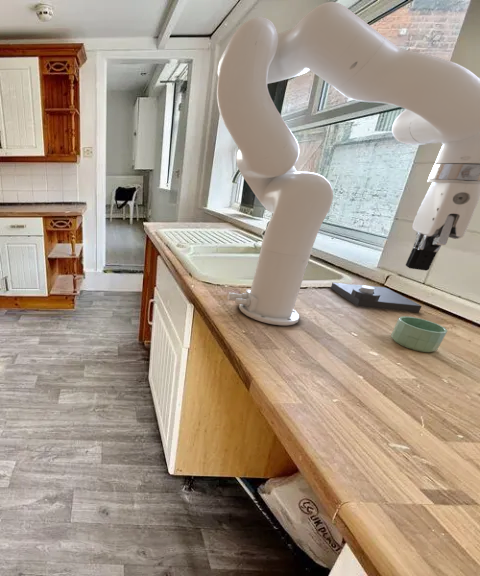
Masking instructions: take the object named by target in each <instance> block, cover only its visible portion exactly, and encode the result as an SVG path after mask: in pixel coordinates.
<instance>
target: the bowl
mask: <svg viewBox="0 0 480 576" xmlns="http://www.w3.org/2000/svg"><path fill="white" fill-rule="evenodd" d="M447 333H448V329H447V328H446V327H445V326H443V325H441V324H439V323H436V322H433V321H431V320H427V319H425V318H419V317H415V316H407V315H403V316H399V317H398V319H397V321H396V323H395V325H394V327H393V330H392V331H391V333H390V337H391V338H392V340H393V341H394V342H395V343H397V344H398V345H399V346H402V347H405V348H406V349H410V350H413V351H417V352H422V353H432V352H437V351H438V350H439V348H440V346H441V344H442V342H443V340H444V338H445V337H446V335H447Z"/></svg>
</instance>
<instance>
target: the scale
mask: <svg viewBox="0 0 480 576" xmlns="http://www.w3.org/2000/svg"><path fill="white" fill-rule="evenodd" d="M362 286H363V285H362V284H353V283H352V284H351V283H342V282H332V283H331V285H330V289H331V291H333V292H335V293H337V294H338V295H340V297H343V298H344V299H346V300H347V301H349V302H350V303H351V304H353V305H354V306H356V307H362V308H372V309H381V310H390V311H400V312H412V313H420V311H421V308H422V305H421V304H419V303H417V302H415V301H413V300H411V299H409V298H407V297H405V296H403V295H402V294H400V293H398V292H395V291H394V290H391V289H390V288H387V287H385V286H376V285H375V286H373V285H369V286H370V287H373V288H375V289H374V292H373V294H368V293H364V292H361V291H360V289H361V287H362Z"/></svg>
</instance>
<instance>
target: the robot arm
mask: <svg viewBox="0 0 480 576" xmlns="http://www.w3.org/2000/svg"><path fill="white" fill-rule="evenodd" d="M309 71H310V72H312V73H313V74H314V75H315V76H317V77H319V78H320V79H322V80H323V81H324V82H325V83H327V84H328V85H330V86H331V87H332V88H333V89H335V90H336V91H338V92H339V93H340V94H341V95H342V96H344V97H346V98H347V99H349V100H353V101H357V102H362V103H363V102H364V103H377V104H387V105H392V106H395V107H400V108H401V109H404V110H402V112H400V113H399V114H398V115H397V117H396V118H395V120H394V121H393V123H392V127H391V134H392V136H393V138H394V139H395V140H396V141H397V142H399V143H401V144H404V145H408V146H421V145H430V144H441V145H442V146H441V148H440V150H439V152H438V155H437V157H436V160H435V162H434V165H433V167H432V169H431V172H430V173H429V176H428V179H427V181H426V182H427V183H431V184H430V186H429V188H428V190H427V191H426V194H425V195H424V198H423V199H422V200H421V204H420V205H419V208H418V210H417V212H416V215H415V216H414V219H413V222H412V225H411V226H412V227H411V228H412V230H413V231H415V237H416V238H415V240H414V243H413V247H412V249H411V252H410V254H409V256H408V258H407V260H406V262H405V267H407V268H408V269H412V270H418V271H419V270H420V271H428V270H430V268H431V266H432V264H433V262H434V260H435V257H436V255H437V253H438V252H439V250H440V249H441V247H442V246H446V245H447V243H448V240H449V238H451V239H453V240H459V239H461V238H463V237H464V236H465V234H466V233H467V230H468V228H469V226H470V224H471V221H472V219H473V216H474V214H475V211H476V209H477V206H478V203H479V201H480V77H479V76H477V75H476V74H475V73H474V72H472V71H471V70H470V69H468V68H467V67H465V66H463V65H461V64H459V63H456V62H454V61H451V60H449V59H445V58H442V57H437V56H433V55H430V54H427V53H422V52H419V51H415V50H409V49H404V48H402V47H399V46H398V45H396V44H395V43H394V42H393V41H391V40H389V39H388V38H387V37H386V36H384V35H383V34H382V33H380V32H379V31H378V30H376V29H375V28H374V27H373V26H371V25H370V24H368V23H367V22H366V21H365V20H363V19H362V18H361V17H359V16H358V15H357V14H355V13H354V12H353V11H351V10H350V9H349V8H347V6H345V5H343V4H341V3H339V2H336V1H328V2H324V3H321V4H319V5H317V6H316V7H314V8H312V9H311V10H310V11H309V12H307V13H306V14H305V15H304V16H303V17H302V18H301V19H300V20H299V21H298V22H297V23H296V24H295V25H294V26H293V27H292V28H290V29H287V30H285V31H281V32H278V30H277V27H276V26H275V24H274V23H273V22H272V20H270V19H269V18H267V17H265V16H255V17H252V18H249V19H248V20H246V21H244V23H242V24H241V25H240V26H239V27H238V28H237V29H236V31H235V32H234V33H233V35H232V36H231V37H230V39H229V40H228V43H227V44H226V46H225V49H224V50H223V52H222V54H221V56H220V58H219V61H218V65H217V84H216V85H217V86H216V101H217V106H218V107H217V109H218V112H219V115H220V118H221V120H222V122H223V124H224V126H225V128H226V129H227V131H228V133H229V134H230V136H231V138H232V140H233V142H234V143H235V145H236V147H237V148H238V150H237V152H236V165H237V169H238V170H239V173H240V175H241V176H242V178H243V179H244V180H245V182H246V183H247V185H248V186H249V188H250V190H251V192H253V194H254V195H255V197H256V198H257V200H258V201H259V203H260V204H261V206H262V207H263V208H264V209H265V210H266V211H268V212H269V213H271V214H272V215H271V217H270V219H269V222H268V223H267V226H266V227H265V228H266V229H265V231H264V235H263V238H262V241H261V246H260V251H259V255H258V259H257V263H256V267H255V271H254V275H253V279H252V283H251V287H250V289H246V290H245V292H241V293H236V292H227V296H226V301H233V302H234V304H235V305H238V308H239V311H240V312H241V313H242V314H244V315H245V316H247V317H249V318H251V319H252V320H256V321H258V322H261V323H265V324H269V325H275V326H292V325H295V324H297V323H298V322H299V320H300V314H299V313H298V312H297V311H296V309H295V305H296V302H297V299H298V296H299V293H300V290H301V286H302V283H303V280H304V277H305V274H306V271H307V267H308V263H309V261H310V257H311V255H312V251H313V248H314V245H315V241H316V239H317V236H318V234H319V231H320V229H321V226H322V225H323V223H324V221H325V219H326V217H327V215H328V213H329V211H330V209H331V206H332V204H333V199H334V189H333V187H332V185H331V182H330V181H329V180H328V179H327V178H326V177H325V176H323V175H321V174H320V173H316V172H310V171H297V169H296V168H295V165H296V164H297V162H298V160H299V157H300V145H299V142H298V140H297V138H296V136H295V135H294V133H293V132H292V131H291V129H290V127H289V126H288V124H287V123H286V121H285V120H284V118H283V117H282V115H281V113H280V112H279V109H278V108H277V106H276V105H275V102H274V101H273V99H272V97H271V94H270V91H269V88H268V84H269V85H270V84H272V83H277V82H282V81H284V80H285V81H286V80H288V79H292V78H295V77H298V76H301V75H303V74H306V73H308V72H309Z"/></svg>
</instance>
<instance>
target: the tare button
mask: <svg viewBox="0 0 480 576" xmlns="http://www.w3.org/2000/svg"><path fill="white" fill-rule="evenodd" d="M370 286H371V285H363V286H362V287H361V289H360V291H361V292H364V293H368V294H373V292H374V289H375V288H373V287H370Z"/></svg>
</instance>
